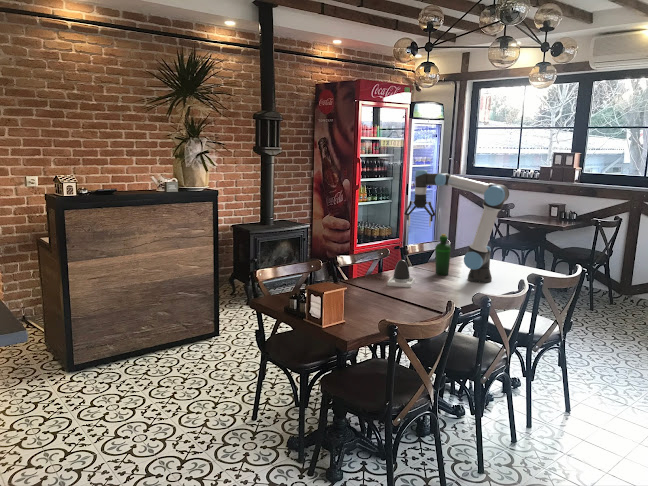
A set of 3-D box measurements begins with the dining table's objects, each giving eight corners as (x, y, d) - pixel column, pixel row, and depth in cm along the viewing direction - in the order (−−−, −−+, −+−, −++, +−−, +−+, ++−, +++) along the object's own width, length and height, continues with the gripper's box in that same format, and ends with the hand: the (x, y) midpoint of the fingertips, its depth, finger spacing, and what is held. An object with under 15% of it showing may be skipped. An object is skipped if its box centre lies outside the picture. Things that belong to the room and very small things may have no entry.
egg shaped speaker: (408, 281, 339) (409, 258, 337) (409, 285, 329) (410, 261, 326) (393, 280, 340) (393, 257, 338) (393, 284, 330) (394, 261, 327)
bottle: (452, 273, 362) (454, 233, 357) (446, 277, 353) (448, 236, 348) (437, 271, 367) (439, 232, 362) (431, 274, 358) (433, 234, 353)
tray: (414, 281, 340) (414, 278, 339) (411, 287, 326) (411, 283, 325) (391, 280, 344) (391, 276, 344) (387, 285, 330) (387, 281, 330)
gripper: (440, 193, 343) (439, 225, 347) (402, 192, 350) (401, 224, 354) (439, 194, 336) (438, 227, 340) (400, 193, 343) (399, 225, 347)
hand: (419, 225), depth 347 cm, fingers open, 13 cm apart
